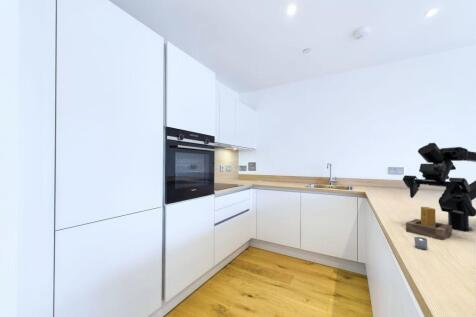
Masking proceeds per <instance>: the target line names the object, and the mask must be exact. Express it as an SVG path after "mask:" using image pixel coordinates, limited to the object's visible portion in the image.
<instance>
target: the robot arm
mask: <svg viewBox="0 0 476 317" xmlns="http://www.w3.org/2000/svg"><path fill="white" fill-rule="evenodd" d="M417 153H418V154H419V155H420V156H421V158H423V159H424V160H425V161H426V163H420V166H419V170H418V171H419V173H421V177H422V178H418V177H417V176H416V175H409V174H408V175H407V174H406V175H404V176H403V177H402V181H403V182H404V184H405V186H406V187H407V188H408V189H409V197H410V198H411V199H413V198H414V197H415V196H416V194H417V193H418V192H419V190H420V189H419V188H420V187H421V185H427V186H432V187H439V188H440V187H442V188H445V189H444V191H443V193H442V194H441V196H440V197H439V199H438V205H439V207H440V210H441V212H446V213H447V223H448V224H447V225H452V230H453V229H454V230H459V231H464V232H470V231H472V230H473V227H472V226H471V227H470V221H469V220H470V219H469V218H470V217H476V208H475V207H474V206H473V202H472V201H473V200H475V199H476V180H474V181H472V182H471V183H468V180H467V179H466V178H465V177H450V176H449V174H450V172H451V171H455V170H457V168H456V165H454V162H460V161H461V162H462V161H464V162H465V161H466V162H471V163H472V162H473V163H476V152H475V151H470V150H468V149H467V148H464V147H463V146H452V147H441V148H440V147H439V146H438V145H437V144H436V143H435V142H430V143H428V144H426V145H423V146H422V147H420V148H418V149H417Z"/></svg>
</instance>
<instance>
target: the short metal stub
mask: <svg viewBox="0 0 476 317" xmlns="http://www.w3.org/2000/svg"><path fill="white" fill-rule="evenodd" d="M413 238H414V247H415V249H418V250H423V251H427V250H428V249H429V248H428V239H427V238H426V237H423V236H422V237H421V236H415V237H413Z"/></svg>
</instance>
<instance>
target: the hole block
mask: <svg viewBox="0 0 476 317" xmlns="http://www.w3.org/2000/svg"><path fill="white" fill-rule="evenodd" d="M405 232H407V233H411V234H415V235H419V236H423V235H424V236H423V237H427V236H428V237H429V238H431V237H432V239H436V238H437V240H441V241H444V240H446V239H448V238H450V237H451V236H452V235H453V228H452V225H448V224H446V223H440V222H436V228H435V227H430V226H426V225H421V218H420V219H418V218H414V219H412V220H409V221H407V222H405ZM428 237H427V238H428Z"/></svg>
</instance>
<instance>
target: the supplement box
mask: <svg viewBox="0 0 476 317" xmlns="http://www.w3.org/2000/svg"><path fill="white" fill-rule="evenodd" d="M420 220H421V225H426V226H430V227H435V228H436V223H437V222H436V208H433V207H429V206H420Z"/></svg>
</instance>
